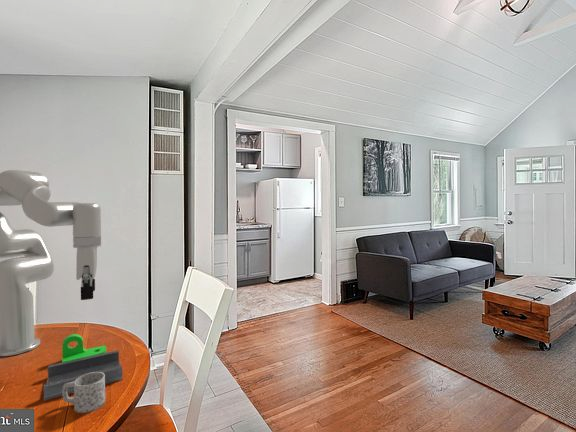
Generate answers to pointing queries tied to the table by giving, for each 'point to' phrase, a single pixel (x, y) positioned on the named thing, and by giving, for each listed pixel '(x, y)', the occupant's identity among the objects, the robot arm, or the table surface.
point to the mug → (86, 392)
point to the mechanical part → (78, 349)
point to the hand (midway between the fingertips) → (88, 295)
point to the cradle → (81, 372)
